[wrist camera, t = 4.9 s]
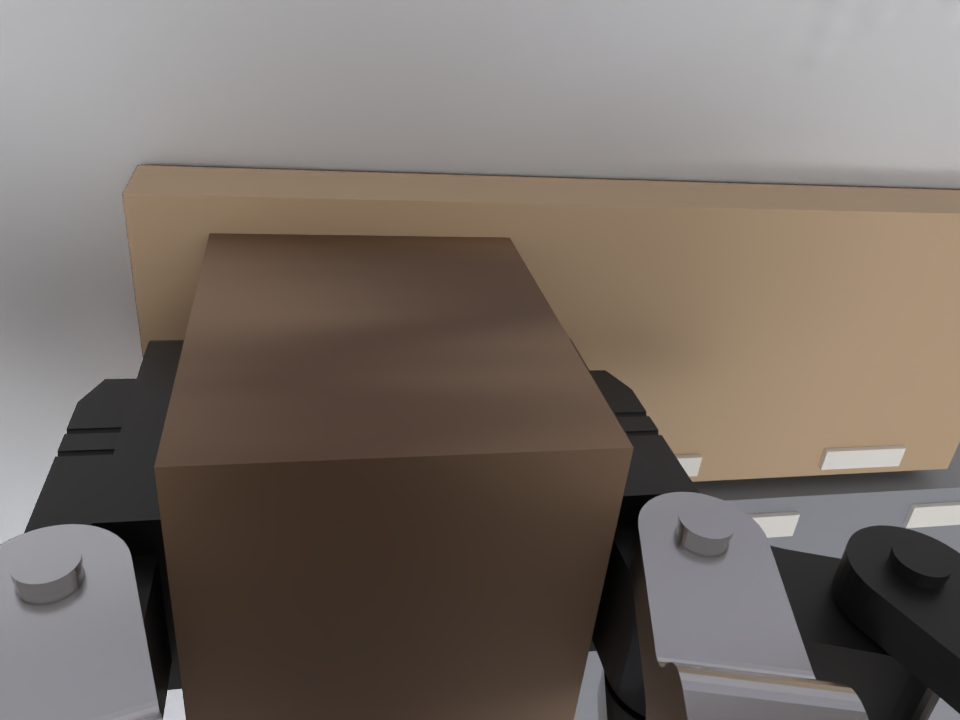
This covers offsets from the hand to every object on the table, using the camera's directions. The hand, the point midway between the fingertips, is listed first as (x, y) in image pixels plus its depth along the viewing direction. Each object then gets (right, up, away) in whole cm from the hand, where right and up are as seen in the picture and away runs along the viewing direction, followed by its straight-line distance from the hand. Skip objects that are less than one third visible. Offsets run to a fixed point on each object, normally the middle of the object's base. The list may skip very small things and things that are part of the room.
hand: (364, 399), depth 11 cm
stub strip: (+4, +1, +3) cm, 5 cm away
